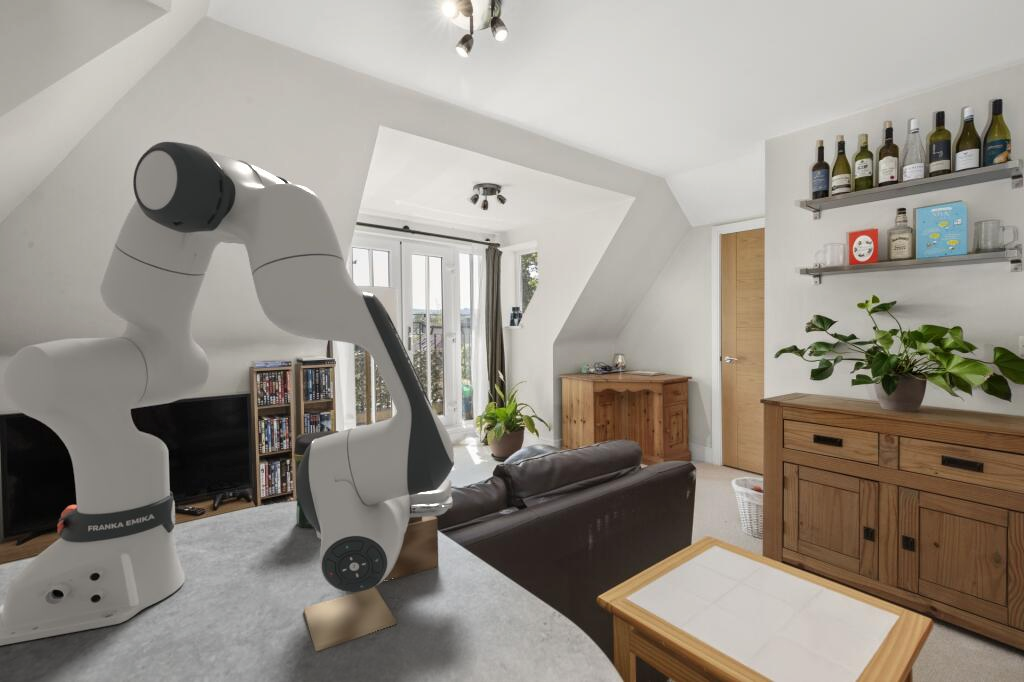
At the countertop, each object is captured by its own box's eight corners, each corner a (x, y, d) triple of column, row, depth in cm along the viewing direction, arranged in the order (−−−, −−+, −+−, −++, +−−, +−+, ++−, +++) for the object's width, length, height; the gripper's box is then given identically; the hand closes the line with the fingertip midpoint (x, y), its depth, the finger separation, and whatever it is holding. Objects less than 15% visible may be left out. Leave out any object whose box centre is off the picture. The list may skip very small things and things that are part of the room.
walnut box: (365, 587, 74) (363, 528, 74) (350, 561, 83) (348, 508, 83) (438, 566, 81) (437, 512, 80) (417, 544, 89) (416, 495, 89)
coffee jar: (345, 510, 107) (343, 426, 106) (346, 524, 99) (343, 433, 99) (297, 517, 103) (295, 430, 103) (294, 531, 96) (291, 438, 96)
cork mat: (316, 651, 59) (315, 646, 59) (303, 611, 68) (303, 607, 68) (395, 624, 65) (395, 620, 65) (375, 591, 73) (375, 587, 73)
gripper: (452, 486, 70) (453, 461, 83) (304, 494, 67) (330, 466, 81) (453, 530, 70) (454, 497, 84) (305, 539, 68) (331, 504, 81)
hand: (392, 482), depth 82 cm, fingers closed on stopper cap, 5 cm apart
